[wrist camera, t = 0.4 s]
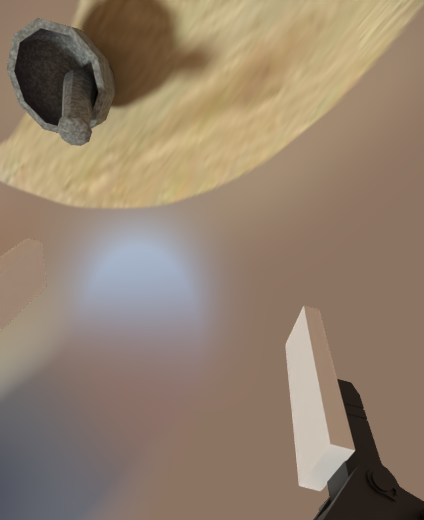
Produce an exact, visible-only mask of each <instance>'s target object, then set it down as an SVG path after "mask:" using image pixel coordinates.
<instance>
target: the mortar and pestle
mask: <svg viewBox="0 0 424 520" xmlns="http://www.w3.org/2000/svg"><path fill="white" fill-rule="evenodd" d="M7 71H8V74H9V77H10V79H11V82H12V85H13V88H14V91H15V94H16V96H17V99H18V102H19V104H20V106H21V107H23V109H24V110H25V111H26V112H27V113H28V114H29V115H30V116H31V117H32V118H33V119H34V120H35V121H36V122H37V123H38V124H39V125H40V126H41V127H42V128H43V129H45V130H49V131H53V132H56V133H59V134H60V136H61V138H62V139H63V140H65V141H66V142H68V143H69V144H71V145H79V146H81V145H83V144H85V143H87V142H89V140H90V137H91V134H92V130H91V128H93V127H95V126H97V125H99V124H101V123H102V122H103V121H105V120H106V118H107V115H108V112H109V110H110V107H111V104H112V101H113V99H114V96H115V92H116V86H115V81H114V76H113V71H112V69H111V68H110V66H109V62H108V60H107V59H106V58H105V56H104V55H103V54H102V53H101V52H100V50H99V49H98V48H97V47H96V46H95V45H94V43H93V42H92V41H91V40H90V39H89V37H88V36H87V35H86V34H85V33H83V32H82V31H81V30H79V29H76V28H73V27H70V26H66V25H62V24H58V23H54V22H50V21H47V20H43V19H39V18H38V19H36V20H35V21H33V22H32V23H30V24H29V25H27V26H26V27H24V28H23V29H22V30H20V31H19V32H17V33H16V34H14V35H13V39H12V44H11V50H10V55H9V61H8V66H7Z"/></svg>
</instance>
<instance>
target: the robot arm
mask: <svg viewBox="0 0 424 520" xmlns="http://www.w3.org/2000/svg"><path fill="white" fill-rule="evenodd" d="M45 287H46V277H45V267H44V257H43V247H42V242H41V241H36V240H32V239H28V238H26V239H25V240H24V241H22V242H21V243H19V244H18V245H16V246H15V247H13V248H12V249H10V250H9V251H7V252H6V253H5V254H3V255H2V256H0V331H1V330H2V329H3V328H4V327H5V326H6V325H7V324H8V323H9V322H10V321H11V320H12V319H13V318H14V317H16V316H17V315H18V314H19V313H20V312H21V310H22V309H24V308H25V307H26V306H27V305H28V304H29V303H30V302H31V301H32V300H33V299H34V298H35V297H36V296H37V295H38V294H39V293H40V292H41V291H42V290H43V289H44V288H45ZM285 346H286V355H287V366H288V376H289V387H290V396H291V407H292V418H293V428H294V438H295V448H296V459H297V469H298V479H299V486H302V487H306V488H310V489H314V490H318V491H321V490H322V489H323V488H324V487H325V486H326V484H328V490H329V496H330V497H329V498H328V499H327V500H326V501H325V502H324V504H323V505H322V506H321V507H320V508H319V512H318V514H317V515H316V517H315V518H314V520H424V501H422V500H420V499H419V498H417V497H415V496H414V495H412V494H410V493H409V492H407V491H405V490H404V489H402V488H401V487H400V486H399V484H398V483H397V481H396V479H395V477H394V476H393V475H392V474H391V473H390V471H389V470H388V469H387V468H386V467H384V466H383V465H382V463H381V461H380V458H379V455H378V451H377V448H376V445H375V442H374V439H373V436H372V433H371V429H370V426H369V423H368V421H367V417H366V414H365V411H364V410H363V404H362V401H361V398H360V395H359V393H358V392H357V390H356V389H355V388H354V386H353V385H352V383H350V382H347V381H343V380H339V379H337V377H336V374H335V369H334V366H333V362H332V358H331V354H330V350H329V346H328V342H327V338H326V335H325V331H324V327H323V323H322V319H321V315H320V311H319V310H318V309H315V308H310V307H306V306H303V308H302V310H301V313H300V315H299V317H298V319H297V321H296V323H295V326H294V328H293V330H292V332H291V334H290V336H289V339H288V341H287V343H286V345H285Z"/></svg>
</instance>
